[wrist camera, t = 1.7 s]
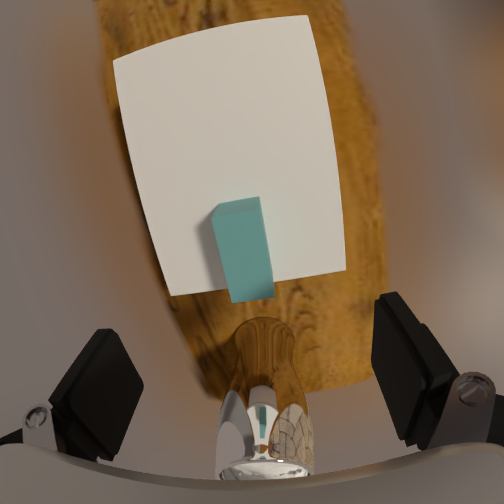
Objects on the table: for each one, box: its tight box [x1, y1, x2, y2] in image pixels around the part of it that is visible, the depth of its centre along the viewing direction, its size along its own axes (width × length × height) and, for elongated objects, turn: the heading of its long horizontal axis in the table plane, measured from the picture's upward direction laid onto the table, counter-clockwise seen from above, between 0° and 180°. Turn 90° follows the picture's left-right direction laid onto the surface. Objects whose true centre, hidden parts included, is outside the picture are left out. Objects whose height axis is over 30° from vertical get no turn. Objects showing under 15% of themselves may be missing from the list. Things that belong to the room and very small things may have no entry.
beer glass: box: [215, 317, 315, 480], centre depth 21 cm, size 7×7×15 cm
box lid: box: [113, 15, 346, 303], centre depth 15 cm, size 16×12×4 cm
